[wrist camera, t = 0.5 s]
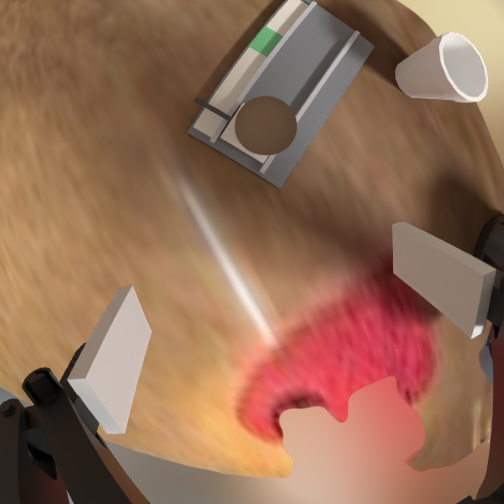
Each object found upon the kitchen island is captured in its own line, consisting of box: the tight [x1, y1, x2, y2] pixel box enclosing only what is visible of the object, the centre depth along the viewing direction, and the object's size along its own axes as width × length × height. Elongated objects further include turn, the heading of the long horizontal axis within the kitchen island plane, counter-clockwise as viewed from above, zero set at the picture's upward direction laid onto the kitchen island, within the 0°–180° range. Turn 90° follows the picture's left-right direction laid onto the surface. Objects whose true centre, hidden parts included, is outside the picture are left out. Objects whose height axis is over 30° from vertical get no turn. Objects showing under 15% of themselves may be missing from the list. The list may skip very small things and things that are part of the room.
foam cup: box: [395, 32, 488, 102], centre depth 30 cm, size 10×9×13 cm
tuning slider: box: [194, 96, 297, 163], centre depth 29 cm, size 11×5×13 cm, turn 58°
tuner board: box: [187, 0, 375, 189], centre depth 34 cm, size 14×26×3 cm, turn 148°
